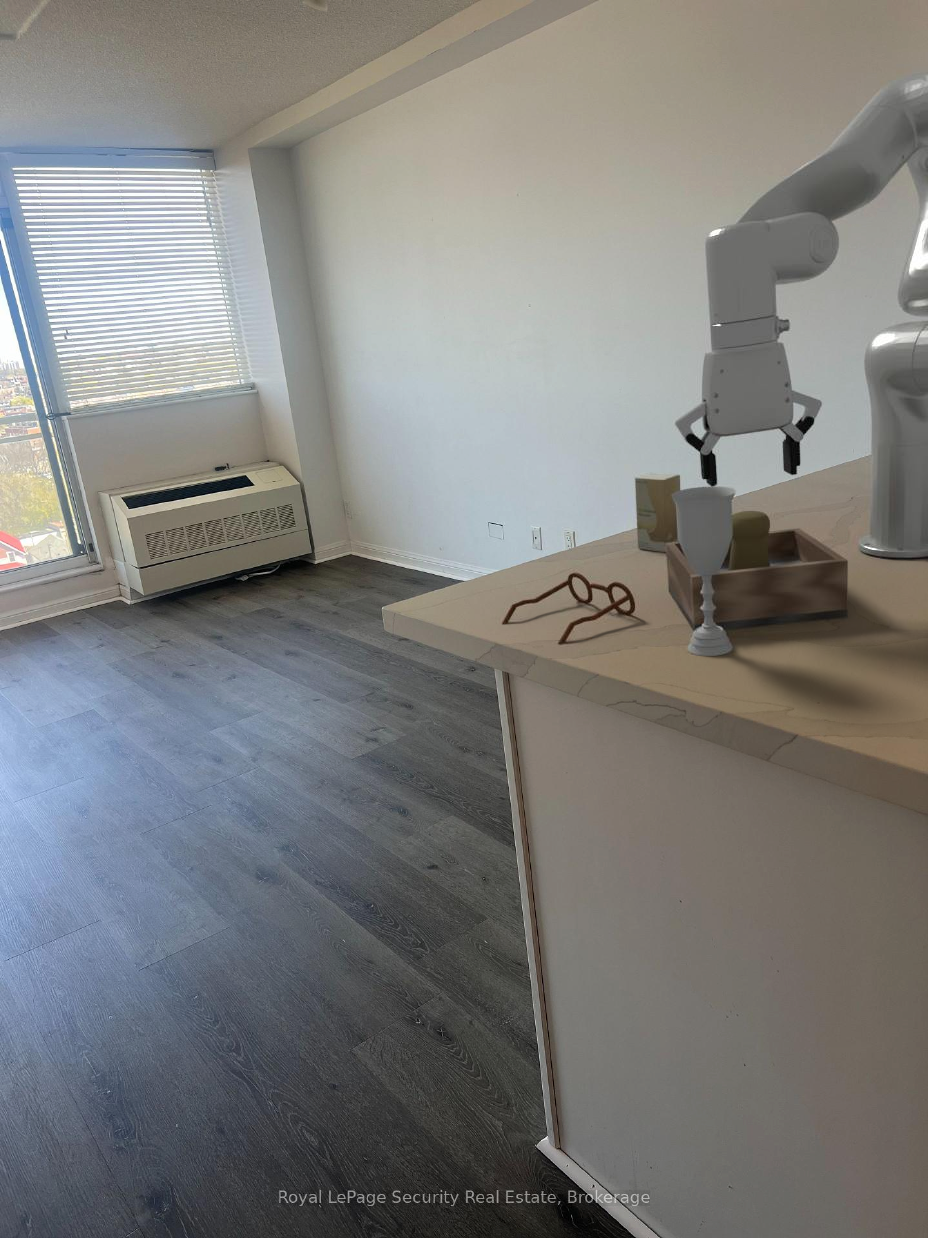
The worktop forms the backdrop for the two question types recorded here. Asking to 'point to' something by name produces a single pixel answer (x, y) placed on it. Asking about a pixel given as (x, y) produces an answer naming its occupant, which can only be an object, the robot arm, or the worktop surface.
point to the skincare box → (656, 510)
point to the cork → (749, 540)
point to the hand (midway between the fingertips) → (750, 478)
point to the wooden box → (766, 585)
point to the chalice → (706, 553)
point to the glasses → (582, 601)
